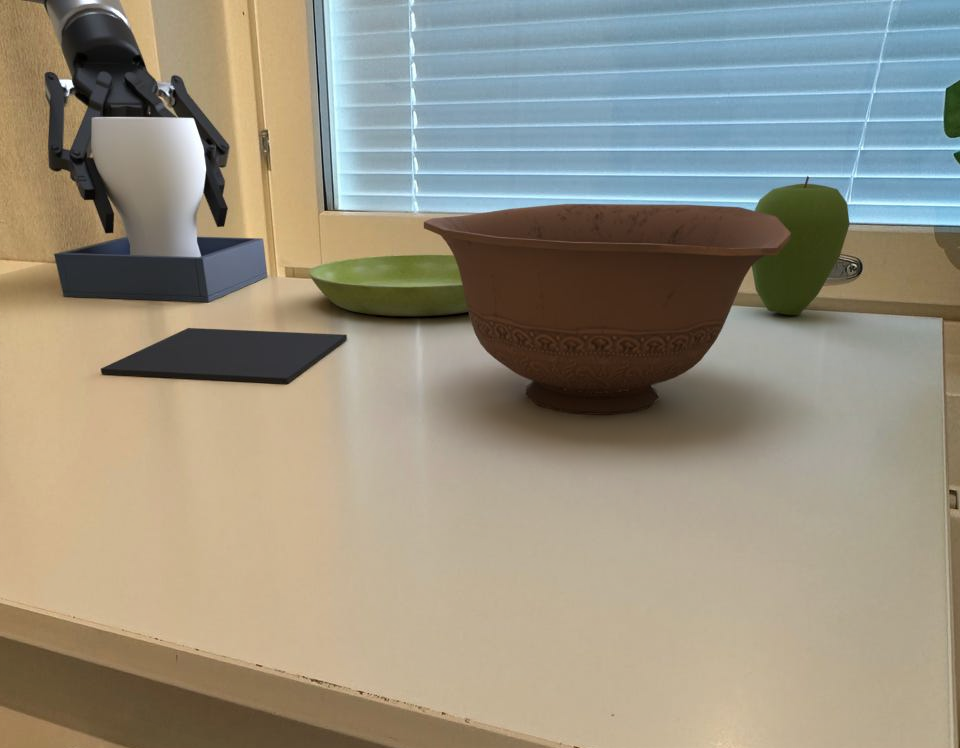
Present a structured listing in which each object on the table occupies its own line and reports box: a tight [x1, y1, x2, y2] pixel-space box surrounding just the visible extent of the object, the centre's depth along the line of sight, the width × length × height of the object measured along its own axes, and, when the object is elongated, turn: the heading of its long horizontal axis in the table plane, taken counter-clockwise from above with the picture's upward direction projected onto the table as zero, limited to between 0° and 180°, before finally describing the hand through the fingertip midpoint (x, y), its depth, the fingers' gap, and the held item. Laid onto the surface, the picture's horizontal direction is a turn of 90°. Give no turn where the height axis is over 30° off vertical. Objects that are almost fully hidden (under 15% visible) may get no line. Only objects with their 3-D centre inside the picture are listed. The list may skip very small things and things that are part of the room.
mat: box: [100, 327, 348, 385], centre depth 68 cm, size 14×14×1 cm
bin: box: [53, 236, 269, 303], centre depth 94 cm, size 16×16×4 cm
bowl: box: [423, 203, 791, 415], centre depth 56 cm, size 22×22×11 cm
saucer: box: [308, 254, 469, 317], centre depth 86 cm, size 21×21×3 cm
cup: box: [91, 116, 206, 257], centre depth 90 cm, size 11×11×15 cm
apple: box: [751, 175, 851, 316], centre depth 80 cm, size 9×8×12 cm
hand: (167, 220), depth 89 cm, fingers closed on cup, 11 cm apart
